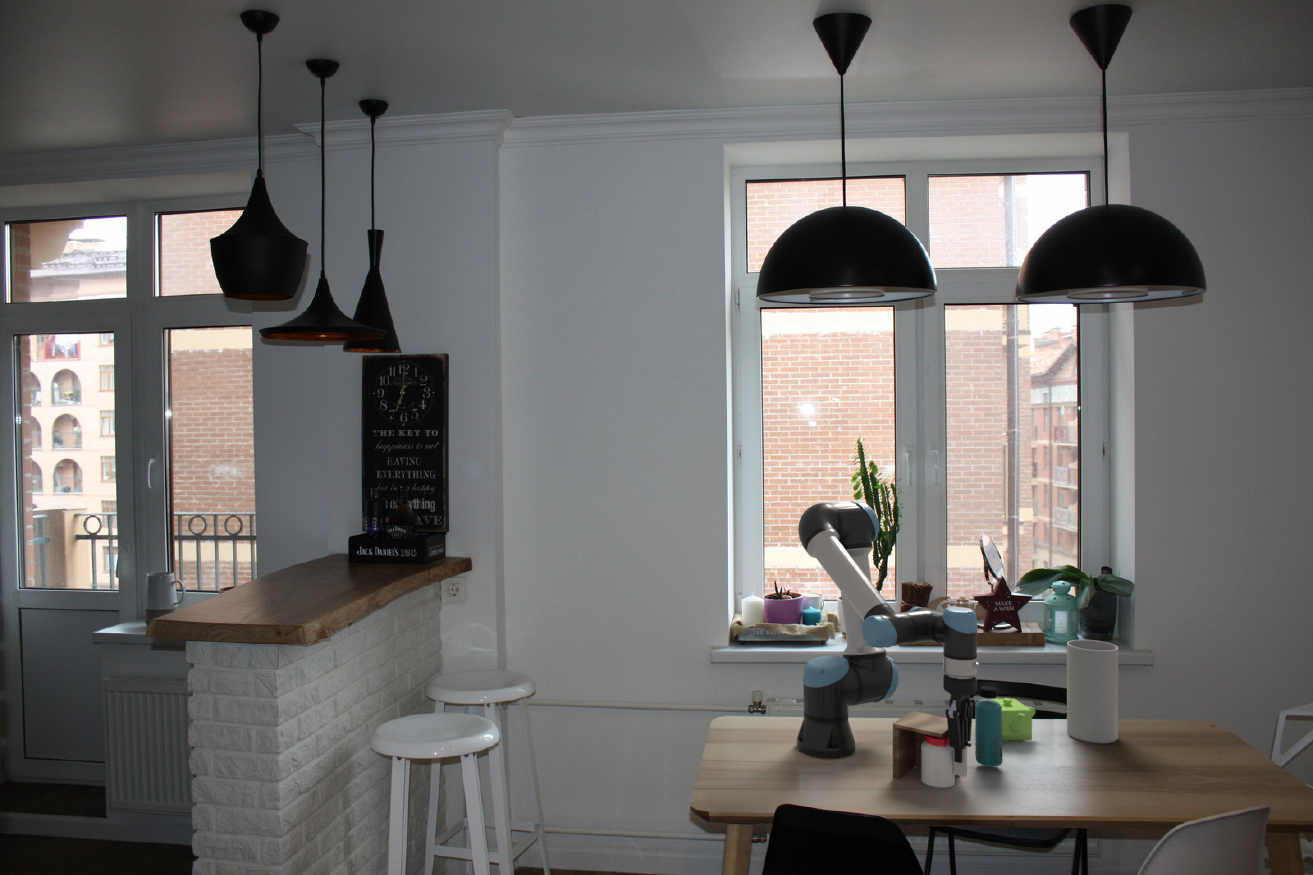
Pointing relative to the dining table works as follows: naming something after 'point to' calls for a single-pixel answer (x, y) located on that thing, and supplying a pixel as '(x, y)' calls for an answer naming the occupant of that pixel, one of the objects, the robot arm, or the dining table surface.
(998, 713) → the beverage bottle
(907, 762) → the awning shelf
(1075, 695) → the cylinder vase
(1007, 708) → the teapot
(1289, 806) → the dining table surface
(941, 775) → the pill bottle
